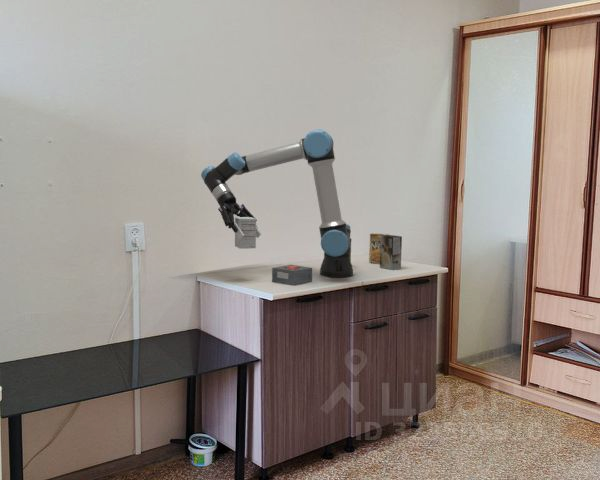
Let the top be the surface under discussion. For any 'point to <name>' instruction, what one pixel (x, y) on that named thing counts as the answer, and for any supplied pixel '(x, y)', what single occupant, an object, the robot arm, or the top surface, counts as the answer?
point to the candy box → (375, 247)
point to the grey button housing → (292, 275)
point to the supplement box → (246, 232)
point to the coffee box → (390, 251)
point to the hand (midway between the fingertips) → (250, 236)
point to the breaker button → (292, 267)
